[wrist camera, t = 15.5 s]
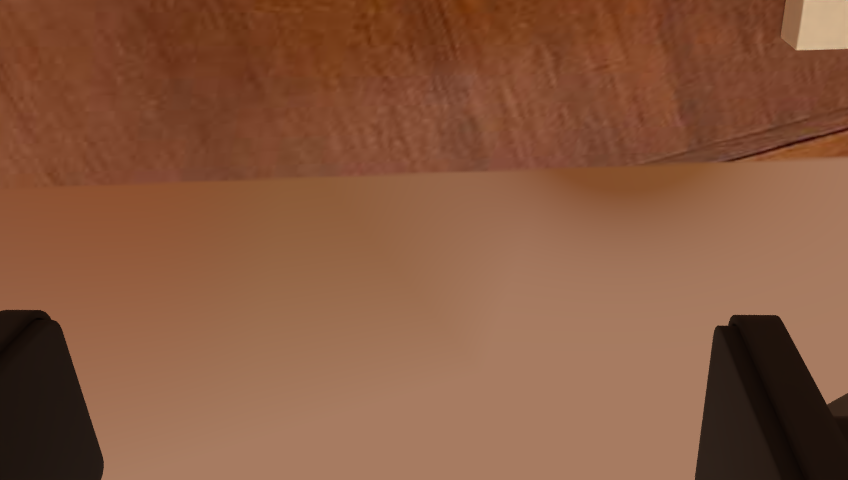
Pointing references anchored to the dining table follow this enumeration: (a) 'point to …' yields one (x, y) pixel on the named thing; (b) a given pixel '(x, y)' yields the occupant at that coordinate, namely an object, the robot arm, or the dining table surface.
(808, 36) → the switch block
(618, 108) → the dining table surface
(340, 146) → the dining table surface
